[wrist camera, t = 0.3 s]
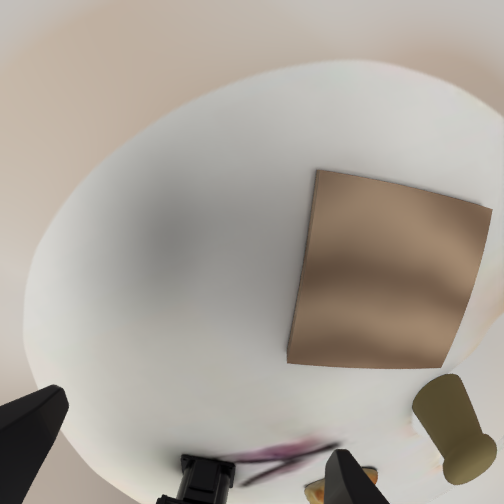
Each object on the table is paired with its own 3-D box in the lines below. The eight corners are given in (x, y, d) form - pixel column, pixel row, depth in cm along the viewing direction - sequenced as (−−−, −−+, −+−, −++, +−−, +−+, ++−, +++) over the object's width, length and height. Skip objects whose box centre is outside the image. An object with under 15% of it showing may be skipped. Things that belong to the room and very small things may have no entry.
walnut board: (434, 358, 22) (440, 367, 21) (286, 351, 23) (286, 363, 21) (481, 206, 18) (492, 209, 17) (316, 169, 19) (320, 169, 17)
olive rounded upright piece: (421, 423, 25) (451, 498, 14) (404, 399, 24) (438, 486, 13) (466, 392, 23) (507, 461, 13) (454, 363, 22) (504, 441, 12)
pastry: (362, 458, 27) (367, 482, 24) (385, 472, 28) (390, 493, 25) (299, 485, 30) (300, 507, 26) (327, 497, 31) (328, 517, 27)
